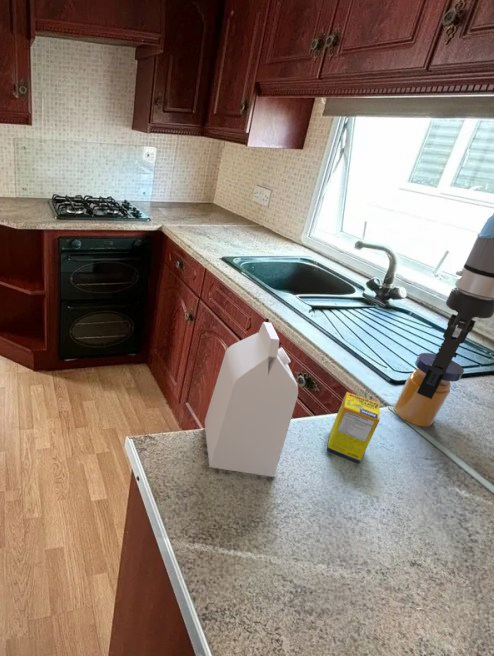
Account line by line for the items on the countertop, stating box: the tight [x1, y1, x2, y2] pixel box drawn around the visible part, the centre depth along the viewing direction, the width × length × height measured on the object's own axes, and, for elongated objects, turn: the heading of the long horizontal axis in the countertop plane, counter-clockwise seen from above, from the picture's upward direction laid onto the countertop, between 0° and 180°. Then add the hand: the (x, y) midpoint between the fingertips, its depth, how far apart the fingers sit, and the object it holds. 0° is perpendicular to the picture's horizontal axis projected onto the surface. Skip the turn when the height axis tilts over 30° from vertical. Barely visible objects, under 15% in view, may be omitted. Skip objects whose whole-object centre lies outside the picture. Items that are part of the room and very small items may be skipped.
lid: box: [414, 352, 465, 382], centre depth 86 cm, size 8×8×2 cm
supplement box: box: [326, 391, 381, 464], centre depth 78 cm, size 6×6×11 cm
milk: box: [204, 321, 299, 478], centre depth 72 cm, size 12×12×26 cm
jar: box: [393, 368, 451, 427], centre depth 90 cm, size 8×8×10 cm
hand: (428, 387), depth 89 cm, fingers closed on lid, 8 cm apart
